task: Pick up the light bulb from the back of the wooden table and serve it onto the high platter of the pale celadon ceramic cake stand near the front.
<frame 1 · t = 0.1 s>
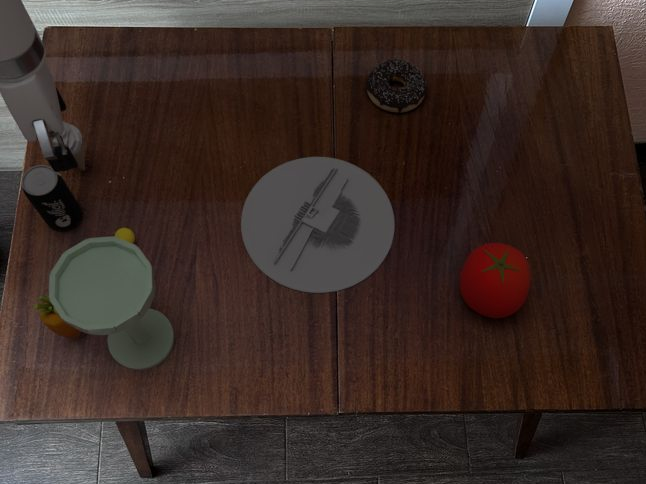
hand: (60, 138, 96), 30 cm above the table, tool pointing down, fingers open, 9 cm apart
beverage can: (65, 217, 125), on the table
platter: (105, 289, 98), resting on stand
stand: (141, 339, 118), on the table
light bulb: (126, 248, 124), on the table
donut: (396, 93, 137), on the table
tomato: (484, 296, 124), on the table
ice cream cone: (84, 170, 129), on the table
carrot: (77, 335, 118), on the table
plate: (318, 223, 127), on the table
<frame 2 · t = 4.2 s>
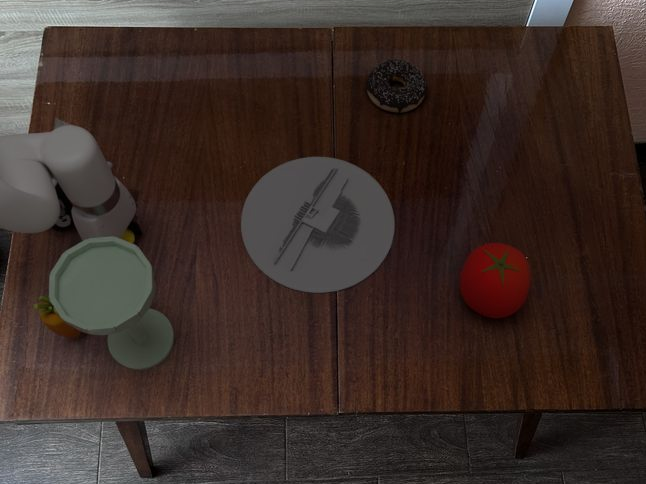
hand: (125, 246, 123), 1 cm above the table, tool pointing down, fingers closed on light bulb, 5 cm apart
light bulb: (126, 248, 124), on the table, touching gripper
everything else where it was.
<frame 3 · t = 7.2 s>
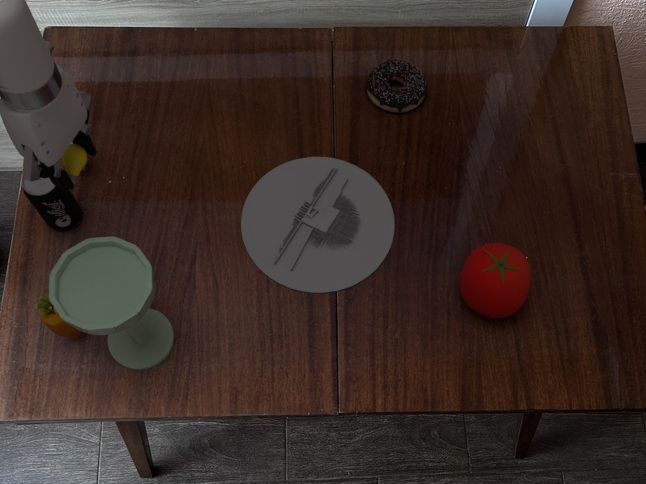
hand: (75, 167, 99), 26 cm above the table, tool pointing down, fingers closed on light bulb, 5 cm apart
light bulb: (76, 171, 100), point 25 cm above the table, touching gripper
everything else where it was.
when the fingers open (23 cm above the table, at t = 10.7 s): light bulb stays where it is, resting on platter.
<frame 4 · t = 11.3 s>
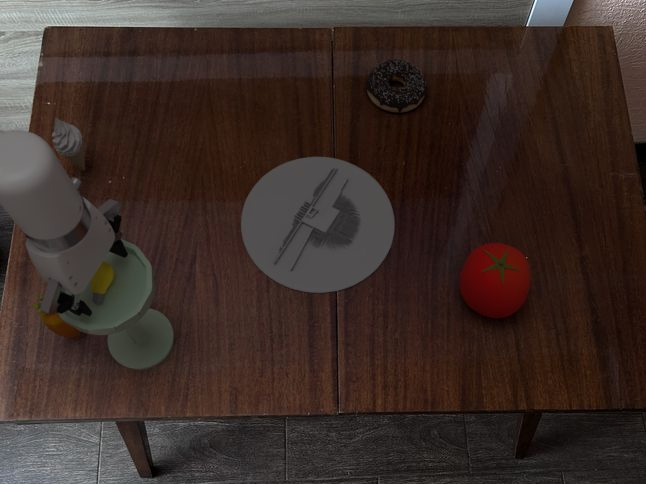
hand: (100, 281, 96), 24 cm above the table, tool pointing down, fingers open, 9 cm apart
light bulb: (103, 287, 98), point 22 cm above the table, touching platter
everything else where it was.
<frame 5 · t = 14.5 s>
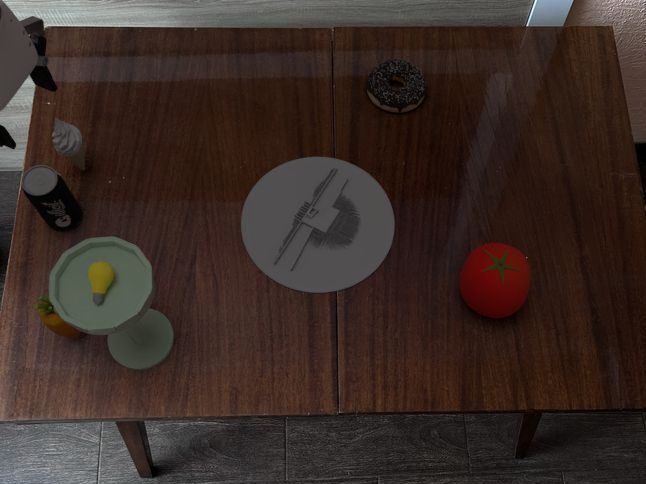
hand: (26, 114, 89), 36 cm above the table, tool pointing down, fingers open, 9 cm apart
nothing on the table moved.
at the end: light bulb inside the target area on the platter (0.2 cm from its centre), point 0.8 cm above the platter's base; the gripper is holding nothing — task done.
